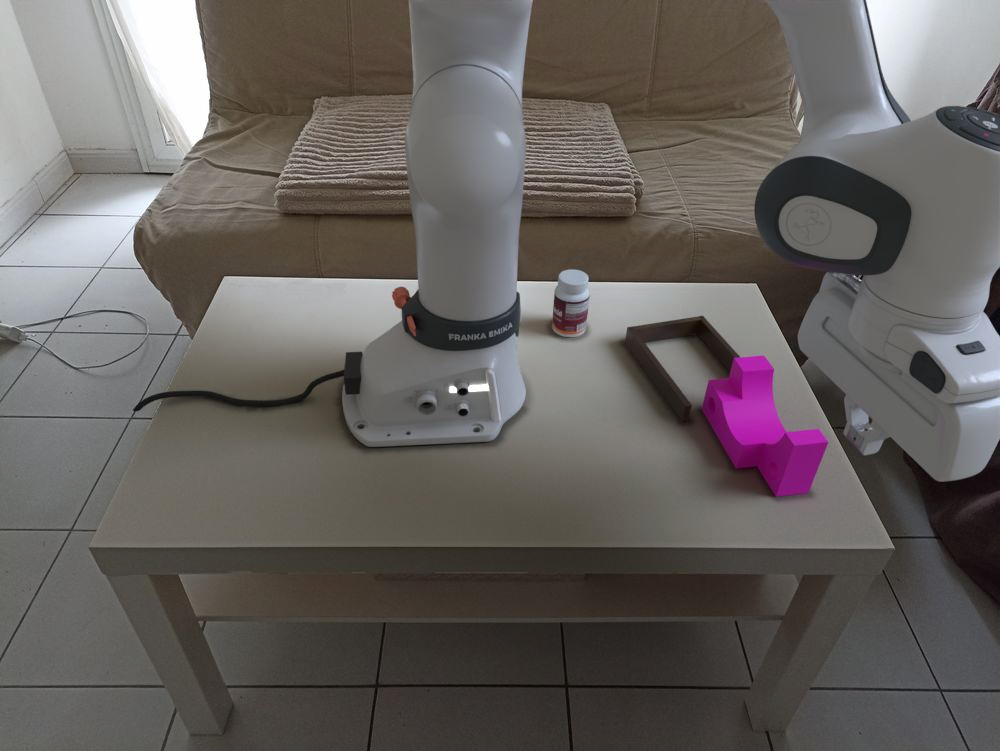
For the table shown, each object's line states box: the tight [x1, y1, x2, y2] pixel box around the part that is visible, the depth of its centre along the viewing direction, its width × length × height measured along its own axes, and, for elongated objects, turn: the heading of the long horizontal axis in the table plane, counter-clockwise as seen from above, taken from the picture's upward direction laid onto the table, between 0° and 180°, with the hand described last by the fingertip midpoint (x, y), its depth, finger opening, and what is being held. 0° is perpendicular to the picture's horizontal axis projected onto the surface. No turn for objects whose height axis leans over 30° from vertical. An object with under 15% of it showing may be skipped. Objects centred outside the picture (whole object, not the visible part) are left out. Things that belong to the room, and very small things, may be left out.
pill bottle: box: [551, 268, 591, 338], centre depth 102 cm, size 5×5×8 cm
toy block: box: [701, 354, 829, 498], centre depth 84 cm, size 15×6×8 cm, turn 9°
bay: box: [624, 315, 741, 422], centre depth 97 cm, size 11×17×2 cm
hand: (859, 444), depth 69 cm, fingers closed
